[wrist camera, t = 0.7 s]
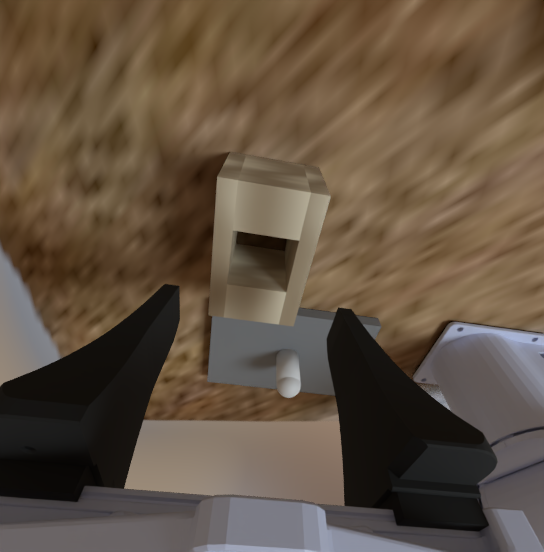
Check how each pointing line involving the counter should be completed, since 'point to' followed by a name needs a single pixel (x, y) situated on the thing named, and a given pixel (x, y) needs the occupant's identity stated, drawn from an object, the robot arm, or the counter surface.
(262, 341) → the pin board
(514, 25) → the counter surface
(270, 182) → the hollow block
